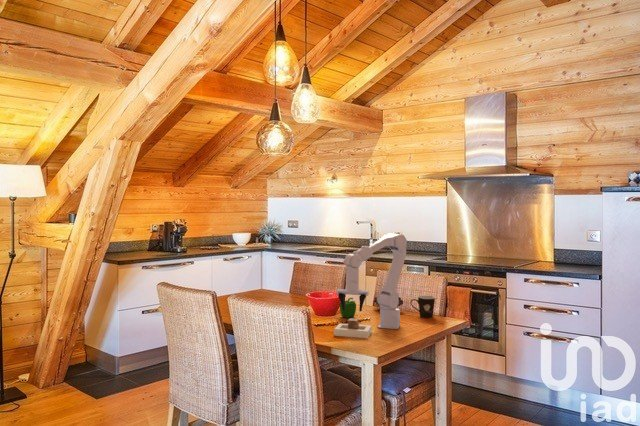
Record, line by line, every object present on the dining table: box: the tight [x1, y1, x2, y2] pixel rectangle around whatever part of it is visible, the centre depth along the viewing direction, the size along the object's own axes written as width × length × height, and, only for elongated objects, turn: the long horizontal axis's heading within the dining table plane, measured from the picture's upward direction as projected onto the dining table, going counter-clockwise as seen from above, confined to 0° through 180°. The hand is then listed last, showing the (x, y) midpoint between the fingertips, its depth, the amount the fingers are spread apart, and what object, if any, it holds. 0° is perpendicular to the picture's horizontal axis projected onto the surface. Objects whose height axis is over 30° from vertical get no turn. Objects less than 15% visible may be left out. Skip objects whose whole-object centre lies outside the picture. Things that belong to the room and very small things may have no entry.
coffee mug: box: [410, 295, 436, 319], centre depth 269 cm, size 12×9×10 cm
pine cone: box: [372, 293, 404, 308], centre depth 283 cm, size 18×10×10 cm, turn 57°
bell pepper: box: [339, 297, 357, 319], centre depth 267 cm, size 8×8×10 cm
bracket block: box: [347, 317, 360, 329], centre depth 236 cm, size 4×4×6 cm
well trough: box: [333, 323, 373, 339], centre depth 236 cm, size 15×10×3 cm, turn 75°
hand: (352, 310), depth 239 cm, fingers open, 7 cm apart
